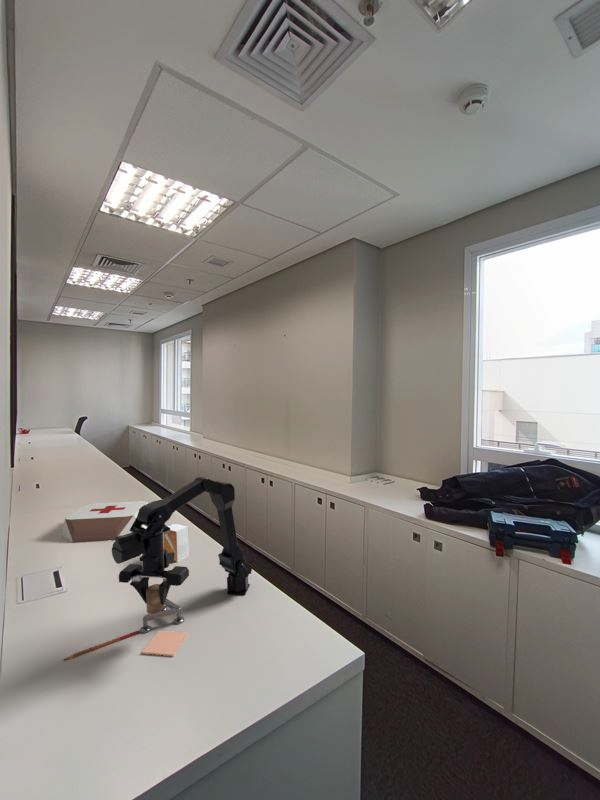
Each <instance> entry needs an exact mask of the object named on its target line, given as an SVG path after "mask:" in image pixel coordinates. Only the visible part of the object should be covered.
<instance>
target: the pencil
mask: <svg viewBox="0 0 600 800" xmlns="http://www.w3.org/2000/svg"><path fill="white" fill-rule="evenodd" d="M139 634H140V630H136V631H135V630H134V631H133V632H130V633H128V634H124V635H122V636H119V637H117V638H114V639H111V640H108V641H105V642H103V643H100V644H97V645H95V646H92V647H89V648H86V649H84V650H81V651H78V652H75V653H73V654H71V655H69V656H67V657H65V658H64V659H63V661H68V660H72V659H75V658H77V657H80V656H83V655H85V654H88V653H90V652H94V651H96V650H99V649H102V648H104V647H107V646H110V645H112V644H114V643H117V642H120V641H123V640H126V639H128V638H131V637H134V636H137V635H139Z"/></svg>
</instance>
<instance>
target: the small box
mask: <svg viewBox="0 0 600 800" xmlns="http://www.w3.org/2000/svg"><path fill="white" fill-rule="evenodd" d="M166 526H167V527H169V528H170V530H169V531H166V532H163V543H164V549H166V551H167V552H175V555H174V562H176V563H179V562H181V561H183V560H184V559H186V558H188V557H190V555H189V553H190V552H189V534H188V533H189V531H188V526H187V525H183V524H178V523H171V525H170V524H169V525H166Z"/></svg>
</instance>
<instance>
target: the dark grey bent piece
mask: <svg viewBox="0 0 600 800" xmlns="http://www.w3.org/2000/svg"><path fill="white" fill-rule="evenodd" d="M168 608H169V609H168ZM181 610H182V609H181V606H179V605H177V604H176V603H174V602H173V601H171V600H170V599H168V597H167V598H166V601H165V603H164V609H163V610H162V611H160V612H158V613H155V614H150V613H148V614H145V615H144V616H142V625H143V626H142V627H140V628H139V633H141V634H147V633H150V631H152V626H151V625H150V624H148V622H149V621H150V622H151V621H153V620H156V619H161V618H164V617H169V616H173V615H176V617H175V618H174V619H173V624H175V625H180V624H182V623H184V621H185V617H183V616H182V615H181V614H182V613H181Z"/></svg>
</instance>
